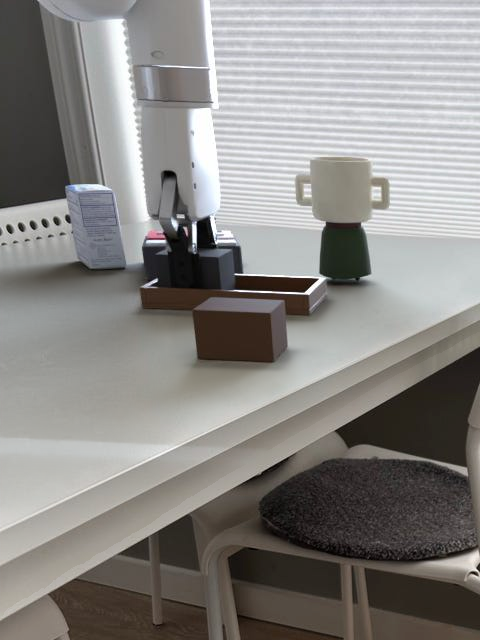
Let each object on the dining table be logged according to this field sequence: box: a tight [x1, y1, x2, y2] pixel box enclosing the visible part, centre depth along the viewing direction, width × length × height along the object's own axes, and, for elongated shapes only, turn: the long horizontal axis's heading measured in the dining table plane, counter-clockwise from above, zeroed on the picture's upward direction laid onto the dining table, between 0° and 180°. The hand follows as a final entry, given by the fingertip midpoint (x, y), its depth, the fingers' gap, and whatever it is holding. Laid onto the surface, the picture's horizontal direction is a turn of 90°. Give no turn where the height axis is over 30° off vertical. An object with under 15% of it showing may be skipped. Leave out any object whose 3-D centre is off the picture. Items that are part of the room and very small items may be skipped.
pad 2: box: [191, 297, 289, 363], centre depth 81 cm, size 6×6×4 cm
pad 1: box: [155, 248, 236, 290], centre depth 99 cm, size 6×6×4 cm
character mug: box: [294, 156, 391, 282], centre depth 110 cm, size 11×7×13 cm, turn 85°
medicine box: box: [64, 183, 127, 270], centre depth 115 cm, size 8×4×9 cm, turn 30°
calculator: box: [141, 229, 244, 281], centre depth 115 cm, size 11×4×15 cm
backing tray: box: [138, 273, 328, 316], centre depth 100 cm, size 17×10×2 cm, turn 88°
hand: (197, 286), depth 100 cm, fingers closed on pad 1, 5 cm apart
